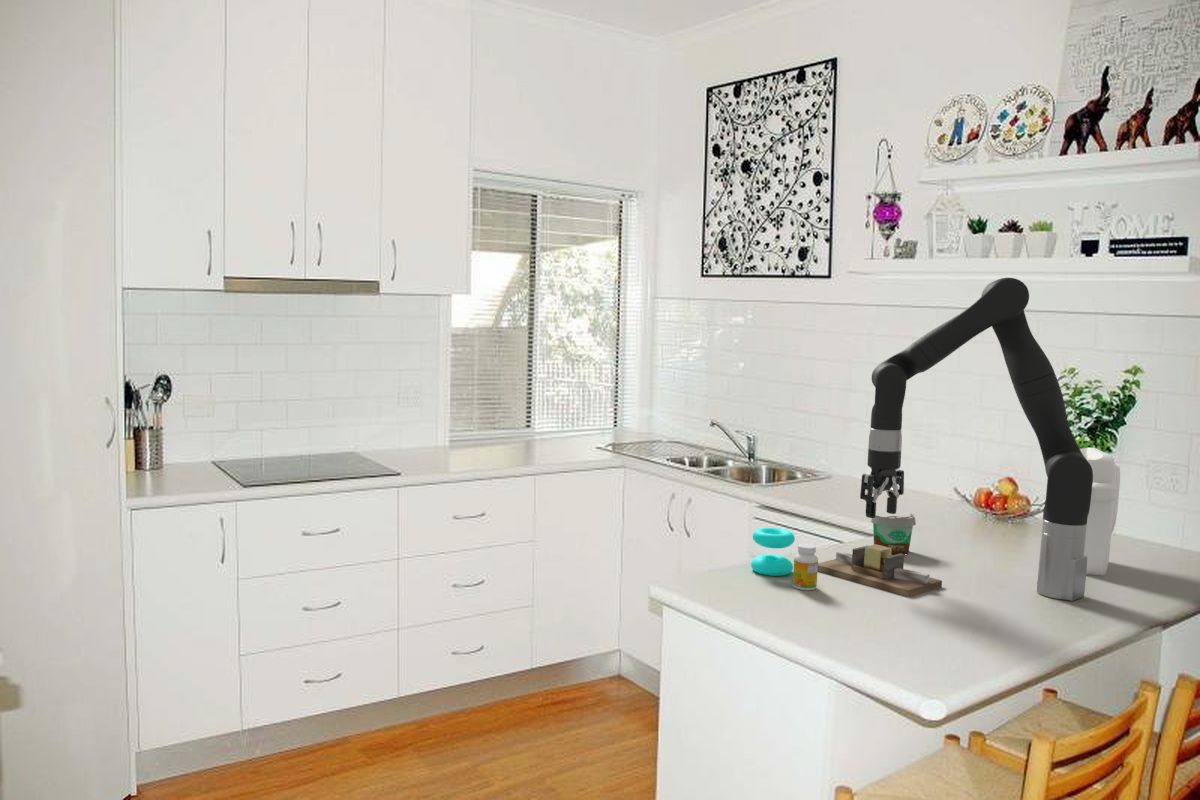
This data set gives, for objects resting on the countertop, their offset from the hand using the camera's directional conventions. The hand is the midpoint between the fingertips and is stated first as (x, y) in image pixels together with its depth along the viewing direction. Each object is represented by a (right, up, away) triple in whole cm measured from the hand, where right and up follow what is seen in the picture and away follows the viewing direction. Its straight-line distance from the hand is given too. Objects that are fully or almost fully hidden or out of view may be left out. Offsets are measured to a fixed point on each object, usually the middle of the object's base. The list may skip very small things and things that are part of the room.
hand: (881, 515), depth 237 cm
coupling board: (-1, -15, +2) cm, 15 cm away
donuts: (-25, -14, +4) cm, 29 cm away
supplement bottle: (-20, -16, -8) cm, 27 cm away
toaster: (+59, -16, +21) cm, 65 cm away
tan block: (-1, -14, +2) cm, 14 cm away
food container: (+11, -13, +26) cm, 32 cm away
